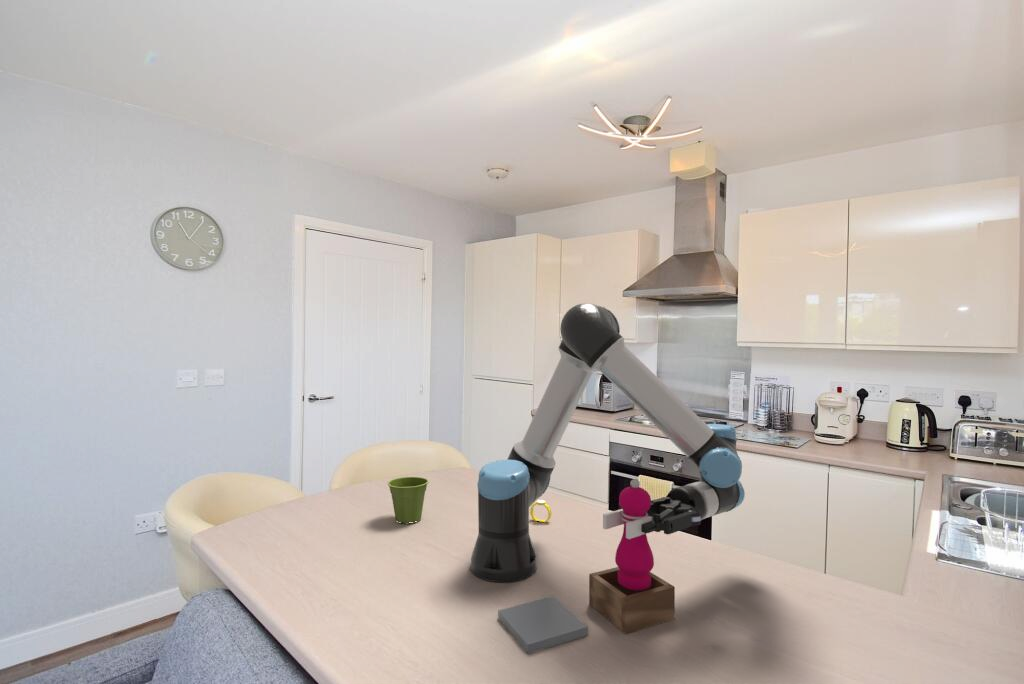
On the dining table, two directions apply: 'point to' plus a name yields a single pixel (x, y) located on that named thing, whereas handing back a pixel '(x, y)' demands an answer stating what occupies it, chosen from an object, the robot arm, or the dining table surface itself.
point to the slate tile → (542, 624)
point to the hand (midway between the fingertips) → (615, 526)
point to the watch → (540, 502)
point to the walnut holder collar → (631, 601)
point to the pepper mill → (634, 541)
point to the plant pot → (408, 497)
